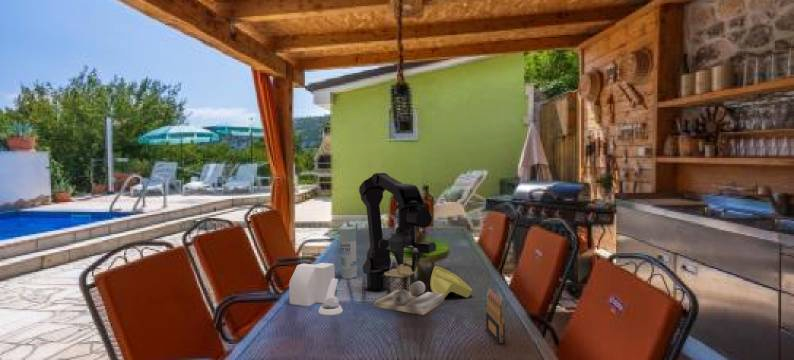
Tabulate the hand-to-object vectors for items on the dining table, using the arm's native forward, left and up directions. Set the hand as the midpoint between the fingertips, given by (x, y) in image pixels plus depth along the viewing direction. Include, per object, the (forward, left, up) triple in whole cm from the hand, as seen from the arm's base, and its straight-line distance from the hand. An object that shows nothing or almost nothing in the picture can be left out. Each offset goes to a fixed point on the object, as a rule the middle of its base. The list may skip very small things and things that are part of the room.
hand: (407, 270), depth 162 cm
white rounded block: (-31, -11, -12) cm, 35 cm away
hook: (-19, -17, -12) cm, 28 cm away
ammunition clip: (+34, -14, -12) cm, 39 cm away
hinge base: (0, +1, -11) cm, 11 cm away
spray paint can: (-38, +21, -11) cm, 45 cm away
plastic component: (+6, +20, -12) cm, 24 cm away
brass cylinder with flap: (-2, 0, -1) cm, 3 cm away
